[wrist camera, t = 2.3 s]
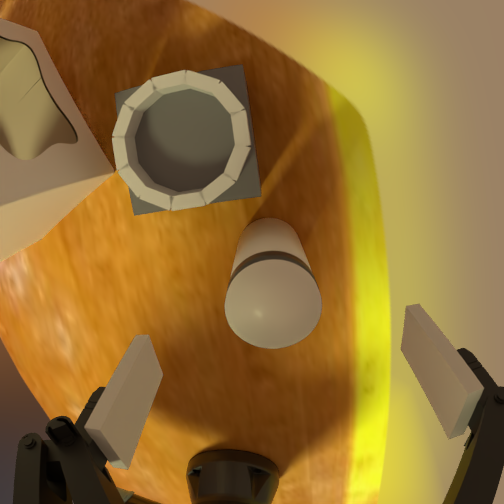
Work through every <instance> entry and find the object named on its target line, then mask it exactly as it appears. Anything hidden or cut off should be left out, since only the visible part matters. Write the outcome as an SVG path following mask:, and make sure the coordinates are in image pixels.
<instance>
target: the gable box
mask: <svg viewBox="0 0 504 504" xmlns="http://www.w3.org/2000/svg"><path fill="white" fill-rule="evenodd" d="M113 174H114V169H113V167H112V165H111V164H110V162H109V161H108V159H107V157H106V156H105V154H104V152H103V151H102V149H101V147H100V146H99V144H98V142H97V141H96V139H95V137H94V136H93V134H92V132H91V130H90V129H89V127H88V125H87V124H86V122H85V120H84V118H83V117H82V115H81V113H80V111H79V110H78V108H77V106H76V104H75V102H74V101H73V99H72V97H71V95H70V93H69V91H68V90H67V88H66V86H65V84H64V82H63V80H62V78H61V77H60V75H59V73H58V71H57V69H56V67H55V65H54V63H53V61H52V59H51V57H50V55H49V53H48V51H47V49H46V47H45V45H44V43H43V41H42V39H41V37H40V35H39V33H38V31H35V30H33V29H30V28H27V27H25V26H22V25H19V24H16V23H13V22H10V21H8V20H5V19H1V18H0V262H2V261H3V260H5V259H7V258H9V257H10V256H12V255H14V254H16V253H17V252H19V251H21V250H23V249H25V248H26V247H28V246H30V245H32V244H34V243H35V242H37V241H39V240H41V239H42V238H43V237H44V236H45V235H46V234H47V233H48V232H49V231H50V230H51V229H52V228H53V227H54V226H55V225H56V224H57V223H58V222H59V221H61V220H62V219H63V218H64V217H65V216H66V215H67V214H68V213H69V212H70V211H71V210H72V209H73V208H75V207H76V206H77V205H78V204H79V203H80V202H81V201H82V200H83V199H85V198H86V197H87V196H88V195H89V194H90V193H91V192H93V191H94V190H95V189H96V188H97V187H98V186H100V185H101V184H102V183H103V182H104V181H106V180H107V179H108V178H109V177H110V176H112V175H113Z"/></svg>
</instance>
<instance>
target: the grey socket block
mask: <svg viewBox="0 0 504 504" xmlns="http://www.w3.org/2000/svg"><path fill="white" fill-rule="evenodd" d="M115 100H116V109H117V117H118V119H117V122H116V125H115V128H114V131H113V134H112V136H114V138H112V144H113V151H114V157H115V163H116V169H117V170H120V171H119V172H118V173H119V175H120V176H121V177H122V179H123V180H124V181H125V182H126V184H127V185H128V187H129V192H130V197H131V202H132V207H133V212H134V216H135V215H141V214H147V213H152V212H158V211H164V210H169V211H170V210H171V209H172V211H174V210H180V209H187V208H193V207H200V206H205V205H206V204H207V205H208V204H209V203H216V202H223V201H230V200H237V199H245V198H253V197H260V196H261V182H260V175H259V167H258V160H257V153H256V146H255V138H254V131H253V124H252V117H251V110H250V103H249V97H248V90H247V83H246V78H245V73H244V69H243V64H242V65H235V66H228V67H222V68H216V69H211V70H205V71H200V72H193V71H189V70H187V71H186V70H182V71H178V72H173V73H169V74H165V75H161V76H157V77H153V78H152V80H150V79H149V80H148V81H147V82H146V83H144V84H143V85H141V86H137V87H134V88H130V89H127V90H124V91H120V92H117V93H115Z"/></svg>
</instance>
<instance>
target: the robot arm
mask: <svg viewBox="0 0 504 504" xmlns="http://www.w3.org/2000/svg"><path fill="white" fill-rule="evenodd" d="M401 351H402V352H403V354H404V356H405V358H406V360H407V361H408V363H409V365H410V367H411V368H412V370H413V372H414V374H415V376H416V377H417V379H418V381H419V383H420V385H421V387H422V388H423V390H424V392H425V394H426V396H427V398H428V400H429V402H430V404H431V406H432V407H433V409H434V411H435V413H436V415H437V417H438V419H439V421H440V423H441V425H442V427H443V429H444V431H445V433H446V435H447V437H448V439H451V438H454V437H457V436H459V435H462V434H463V433H464V432H465V430H466V428H467V426H469V427H470V429H471V433H470V435H469V437H468V439H467V441H466V443H465V445H464V446H466V447H465V450H464V453H463V455H462V459H461V461H460V464H459V466H458V469H457V472H456V474H455V476H454V479H453V482H452V484H451V486H450V488H449V491H448V493H447V495H446V498H445V500H444V502H443V504H492V503H493V500H494V497H495V494H496V490H497V487H498V484H499V481H500V477H501V474H502V470H503V466H504V387H498V386H497V384H496V383H495V382H494V380H493V379H492V378H491V376H490V375H489V374H488V372H487V371H486V370H485V369H484V367H482V365H481V363H480V362H478V360H477V358H476V357H475V356H474V355H473V354H472V353H471V352H470V351H468V350H467V349H465V348H461V349H458V350H456V349H455V348H454V347H453V345H452V344H451V343H450V341H449V340H448V339H447V338H446V336H445V335H444V334H443V332H442V331H441V330H440V329H439V327H438V326H437V325H436V324H435V323H434V321H433V320H432V319H431V318H430V317H429V315H428V314H427V313H426V312H425V310H424V309H423V308H422V307H421V306H420V304H415V305H410V306H406V311H405V320H404V329H403V337H402V344H401ZM162 377H163V373H162V370H161V367H160V365H159V362H158V359H157V356H156V354H155V351H154V348H153V345H152V342H151V339H150V337H149V335H136V336H135V338H134V339H133V341H132V343H131V344H130V346H129V348H128V349H127V351H126V353H125V355H124V356H123V358H122V360H121V361H120V363H119V365H118V367H117V368H116V370H115V372H114V374H113V375H112V377H111V379H110V381H109V383H108V384H107V386H106V387H99V388H98V389H97V390H96V391H95V392H93V393H92V395H91V397H90V398H89V400H88V403H87V404H86V405H85V409H83V411H82V412H81V414H80V416H79V418H78V420H77V421H76V423H75V425H74V424H73V422H72V421H71V419H70V418H68V417H66V416H59V417H56V418H54V419H52V420H51V421H50V422H49V423H48V424H47V426H46V433H47V434H48V436H49V437H50V439H51V440H42V439H41V437H40V436H39V435H38V434H36V433H29V434H26V435H25V436H24V437H22V439H21V440H20V442H19V445H18V452H17V459H16V469H15V480H14V495H13V504H73V503H72V500H73V502H74V504H161V503H158V502H155V501H152V500H150V499H147V498H144V497H141V496H139V495H136V494H134V493H135V492H133V491H130V492H129V491H126V490H124V489H121V488H118V487H116V486H115V484H114V482H113V480H112V478H111V476H110V474H109V471H108V470H107V468H106V467H105V464H106V462H107V460H108V461H109V463H110V464H111V465H112V466H113V467H115V468H121V469H127V470H128V469H129V466H130V463H131V461H132V458H133V455H134V452H135V449H136V447H137V444H138V441H139V438H140V436H141V433H142V430H143V427H144V425H145V422H146V419H147V417H148V414H149V411H150V409H151V406H152V403H153V401H154V398H155V395H156V393H157V390H158V388H159V385H160V382H161V380H162ZM186 479H187V484H188V489H189V493H190V498H191V502H192V504H271V503H272V501H273V498H274V496H275V493H276V491H277V488H278V485H279V470H278V468H277V466H276V465H275V464H274V463H273V462H272V461H270V460H268V459H267V458H265V457H262V456H260V455H257V454H254V453H250V452H245V451H237V450H215V451H209V452H204V453H201V454H199V455H197V456H195V457H193V458H192V459H191V460H190V462H189V464H188V468H187V473H186Z"/></svg>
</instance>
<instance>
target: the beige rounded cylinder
mask: <svg viewBox="0 0 504 504" xmlns="http://www.w3.org/2000/svg"><path fill="white" fill-rule="evenodd" d="M321 311H322V299H321V295H320V291H319V288H318V285H317V283H316V280H315V277H314V275H313V273H312V270H311V268H310V265H309V263H308V260H307V258H306V255H305V252H304V250H303V247H302V245H301V242H300V240H299V237H298V235H297V233H296V232H295V230H294V229H293V228H292V227H291V226H290V225H289V224H288V223H286V222H284V221H282V220H280V219H276V218H262V219H259V220H256V221H254V222H252V223H251V224H249V225H248V226H247V227H246V228H245V229H244V231H243V232H242V234H241V236H240V238H239V241H238V246H237V250H236V255H235V259H234V263H233V268H232V272H231V277H230V281H229V284H228V289H227V293H226V300H225V315H226V318H227V321H228V323H229V325H230V327H231V329H232V330H233V331H234V332H235V334H236V335H238V336H239V337H240V338H241V339H242V340H244V341H246V342H247V343H249V344H252V345H254V346H257V347H261V348H269V349H276V348H283V347H287V346H291V345H293V344H296V343H297V342H299V341H301V340H302V339H304V338H305V337H306V336H308V335H309V334H310V333H311V332H312V330H313V329H314V328H315V326H316V325H317V323H318V321H319V318H320V315H321Z"/></svg>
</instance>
